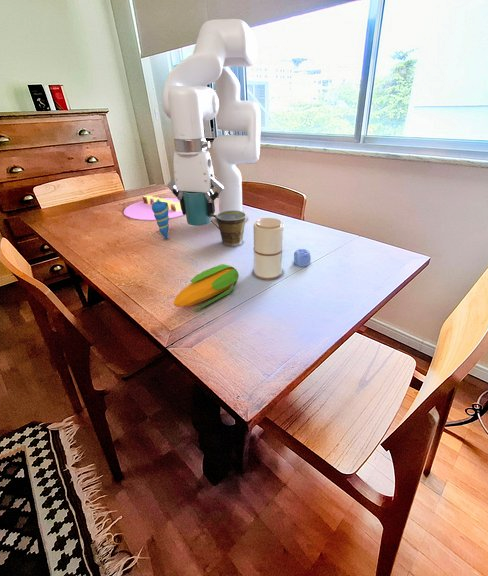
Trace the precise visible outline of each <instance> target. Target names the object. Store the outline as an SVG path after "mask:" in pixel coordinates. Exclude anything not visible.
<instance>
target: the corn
mask: <svg viewBox="0 0 488 576" xmlns="http://www.w3.org/2000/svg"><path fill="white" fill-rule="evenodd" d="M239 277H240V275H239V272H238V270H237V268H235V267H234V266H232V265H229V264H226V263H225V264H224V263H223V264H222V263H221V264H218V265H217V266H216V265H215V266H213V267H211V268H208V269H205V270H203V271H201V272H199V273H198V274H196V275H195V276H194V277H193V278H192V279H191V280H190V283H189V284H188V285H187V286H185V287H184V288H183V289H181V291H180V292H179V293H177V294H176V296H175V298H174V300H173V303H172V304H173V306H175V307H176V308H183V307H191V306H194V305H198V304H200V303H203V302H204V301H207V300H208V301H207V302H205V303H203V304H201V305H199V306H197V307H195V308H193V310H192V311H193V312H194V311H196V310H199V309H202V308H205V307H206V306H208V305H210V304H212V303H214V302H216V301H218V300H220V299H221V298H223V297H225V296H227V295H229V294H231V293H232V291H233V290H234V288H235V287H236V285H237V283H238V279H239ZM211 298H212V299H211ZM209 299H210V300H209Z"/></svg>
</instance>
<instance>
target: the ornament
mask: <svg viewBox="0 0 488 576" xmlns="http://www.w3.org/2000/svg"><path fill="white" fill-rule="evenodd" d="M159 198H160V197H159ZM159 198H158V199H157V202H154V203H153V204H152V210H153V212H154V217H155V218H156V220H155V221H156V224H157V226H158V228H159V232H160V234H161V236H162V237H163V239H164V240H168V235H169V230H170V228H169V227H170V225H169V221H170V218H169V217H168V209H167V207H166V204H165V203H164V202H161V201H159Z"/></svg>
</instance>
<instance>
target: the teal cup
mask: <svg viewBox="0 0 488 576" xmlns="http://www.w3.org/2000/svg"><path fill="white" fill-rule="evenodd" d="M183 198H184V204H185V211H186V214H185V217H186V223H187V224H188V225H190V226H193V227H200V226H202V227H203V226H206V225H209V224H211V223H212V222H211V220H212V217H208V214H207V202H208V200H207V198H206V197H205V193H193V192H185V191H183Z"/></svg>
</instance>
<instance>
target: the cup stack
mask: <svg viewBox="0 0 488 576" xmlns="http://www.w3.org/2000/svg"><path fill="white" fill-rule="evenodd" d="M284 225H285V224H284V222H282V221H281V220H280V219H278V218H275V217H262V218H258V219H257V220H255V221H254V222H253V275H254V276H255V277H256V278H257V279H261V280H265V281H271V280H275V279H278V278H280V277H281V276H282V272H283V271H282V269H283V268H282V267H283V251H284V247H283V246H284V227H285V226H284Z"/></svg>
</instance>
